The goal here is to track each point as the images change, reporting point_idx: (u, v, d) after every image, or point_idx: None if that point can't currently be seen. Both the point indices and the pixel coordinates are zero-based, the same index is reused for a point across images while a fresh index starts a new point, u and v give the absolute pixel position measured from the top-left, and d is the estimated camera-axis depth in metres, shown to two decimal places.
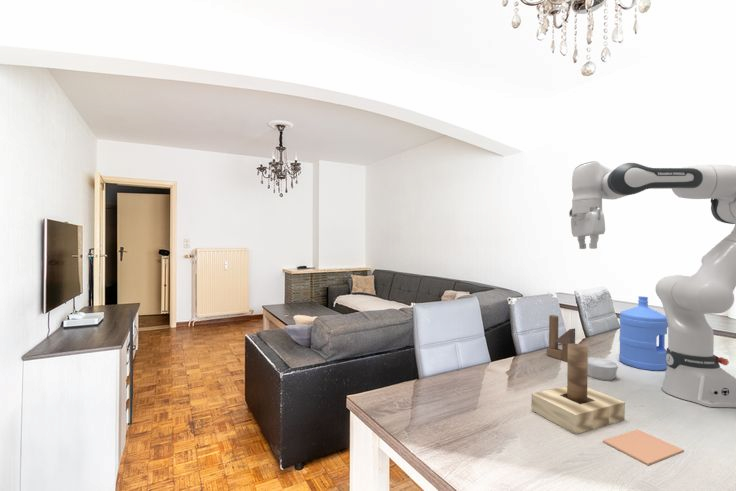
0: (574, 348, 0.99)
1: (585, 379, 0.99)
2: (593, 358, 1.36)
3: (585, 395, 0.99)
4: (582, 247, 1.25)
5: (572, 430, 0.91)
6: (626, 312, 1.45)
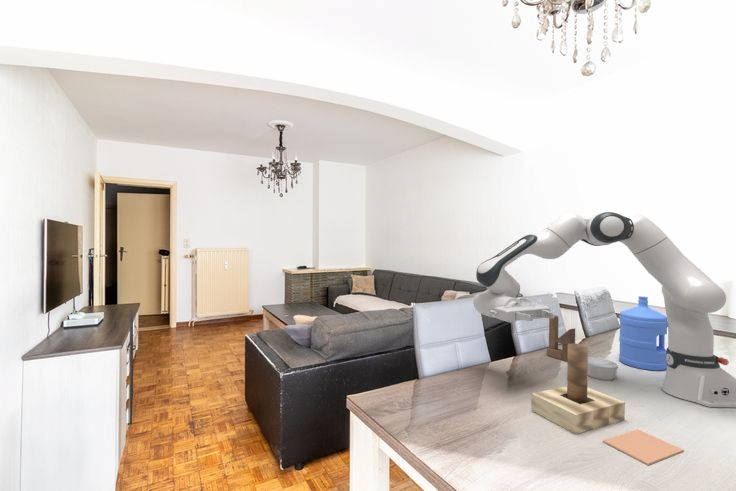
0: (574, 348, 0.99)
1: (585, 379, 0.99)
2: (593, 358, 1.36)
3: (585, 395, 0.99)
4: (549, 316, 1.14)
5: (572, 430, 0.91)
6: (626, 312, 1.45)
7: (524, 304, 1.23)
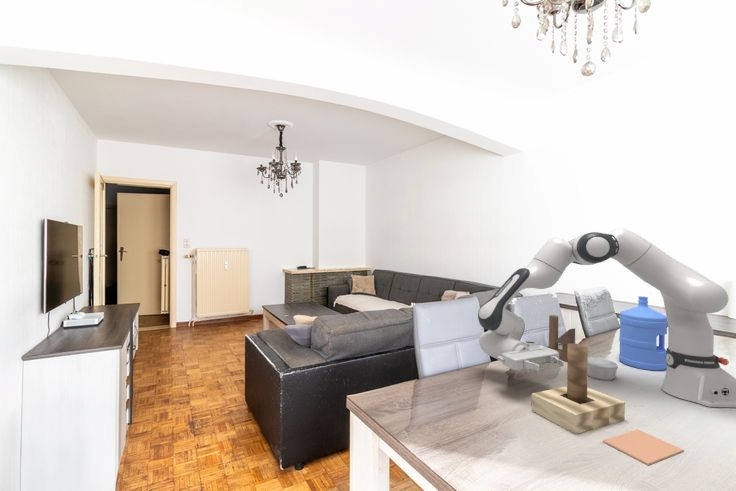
0: (574, 348, 0.99)
1: (585, 379, 0.99)
2: (593, 358, 1.36)
3: (585, 395, 0.99)
4: (559, 364, 1.11)
5: (572, 430, 0.91)
6: (626, 312, 1.45)
7: (532, 348, 1.20)
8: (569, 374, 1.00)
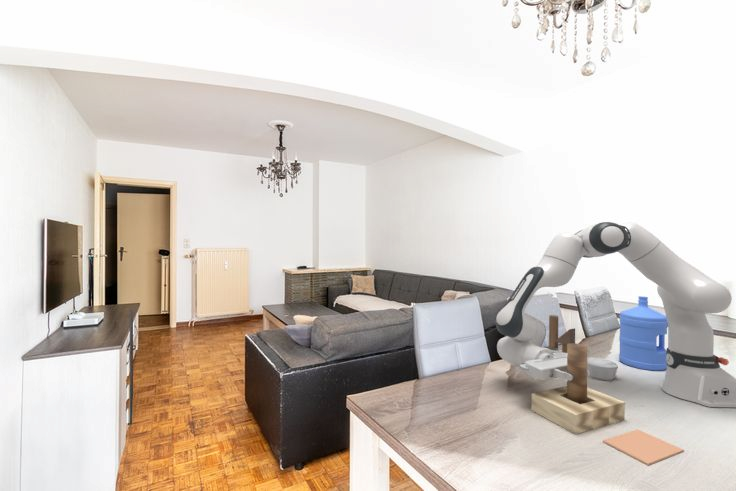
0: (574, 348, 0.99)
1: (585, 379, 0.99)
2: (593, 358, 1.36)
3: (585, 395, 0.99)
4: None
5: (572, 430, 0.91)
6: (626, 312, 1.45)
7: (557, 356, 1.11)
8: None
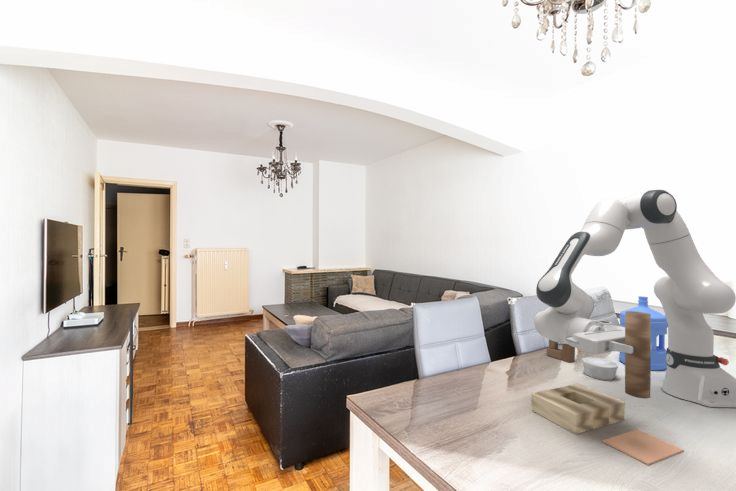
0: (635, 315, 0.85)
1: (649, 351, 0.84)
2: (593, 358, 1.36)
3: (648, 370, 0.84)
4: None
5: (572, 430, 0.91)
6: None
7: (608, 328, 0.97)
8: None
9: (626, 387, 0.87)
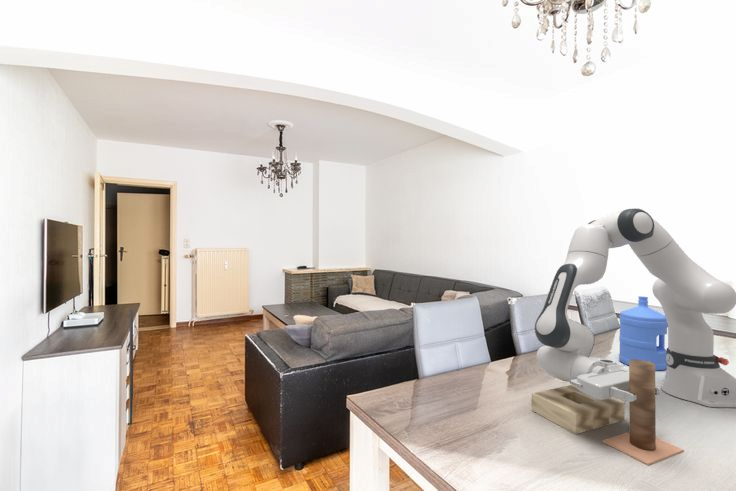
0: (639, 366, 0.84)
1: (654, 403, 0.83)
2: None
3: (653, 422, 0.83)
4: None
5: (572, 430, 0.91)
6: (626, 312, 1.45)
7: (612, 369, 0.96)
8: None
9: (631, 438, 0.86)
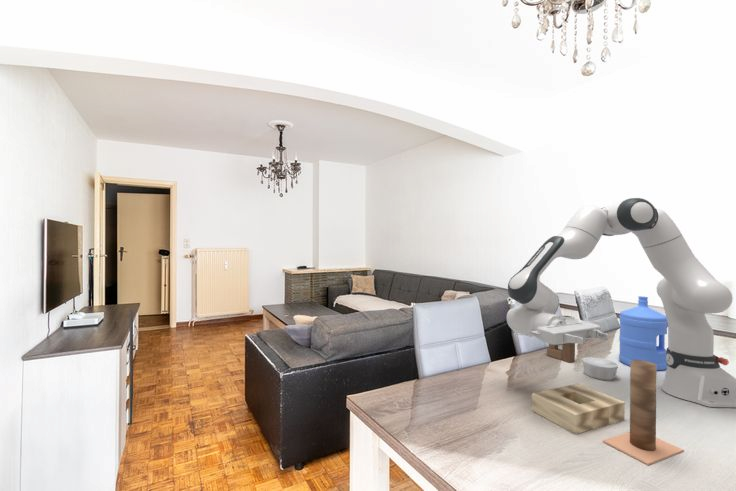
0: (640, 366, 0.84)
1: (654, 403, 0.83)
2: (593, 358, 1.36)
3: (654, 422, 0.83)
4: (603, 338, 0.98)
5: (572, 430, 0.91)
6: (626, 312, 1.45)
7: (569, 322, 1.07)
8: (634, 397, 0.85)
9: (631, 438, 0.86)
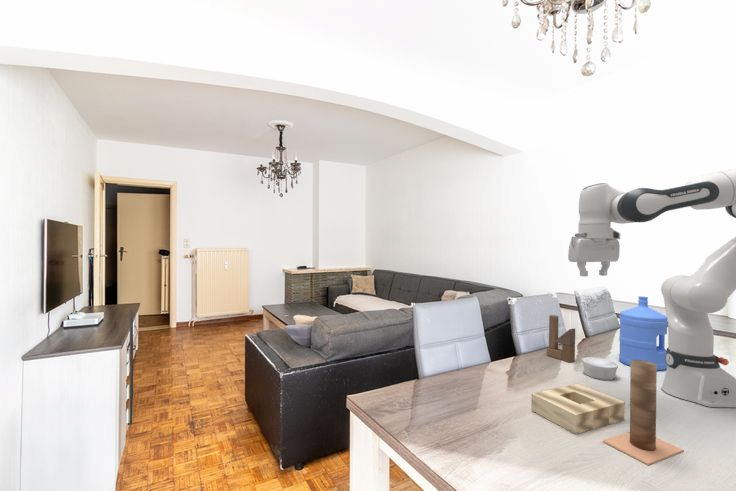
0: (640, 366, 0.84)
1: (654, 403, 0.83)
2: (593, 358, 1.36)
3: (654, 422, 0.83)
4: (601, 273, 1.16)
5: (572, 430, 0.91)
6: (626, 312, 1.45)
7: (608, 243, 1.14)
8: (634, 397, 0.85)
9: (631, 438, 0.86)
